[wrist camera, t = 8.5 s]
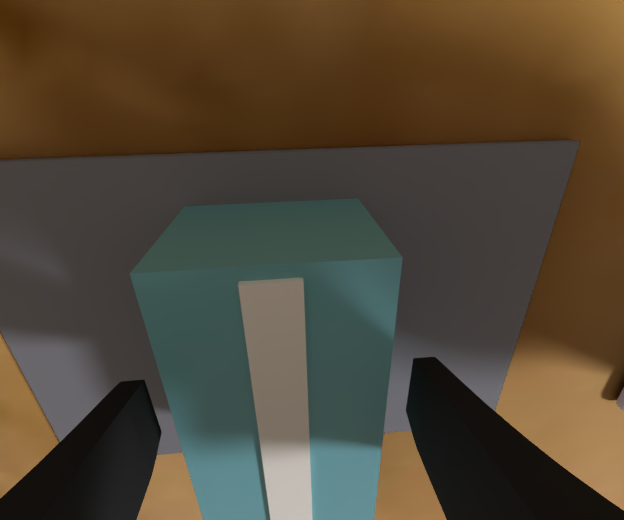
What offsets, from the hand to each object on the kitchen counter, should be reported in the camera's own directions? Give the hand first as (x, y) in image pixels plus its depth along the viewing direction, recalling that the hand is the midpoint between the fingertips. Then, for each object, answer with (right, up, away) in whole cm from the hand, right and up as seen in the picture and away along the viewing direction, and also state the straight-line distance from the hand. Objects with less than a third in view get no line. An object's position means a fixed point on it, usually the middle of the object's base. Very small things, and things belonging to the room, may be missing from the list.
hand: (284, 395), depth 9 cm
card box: (0, +1, +2) cm, 3 cm away
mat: (0, +1, +3) cm, 3 cm away
